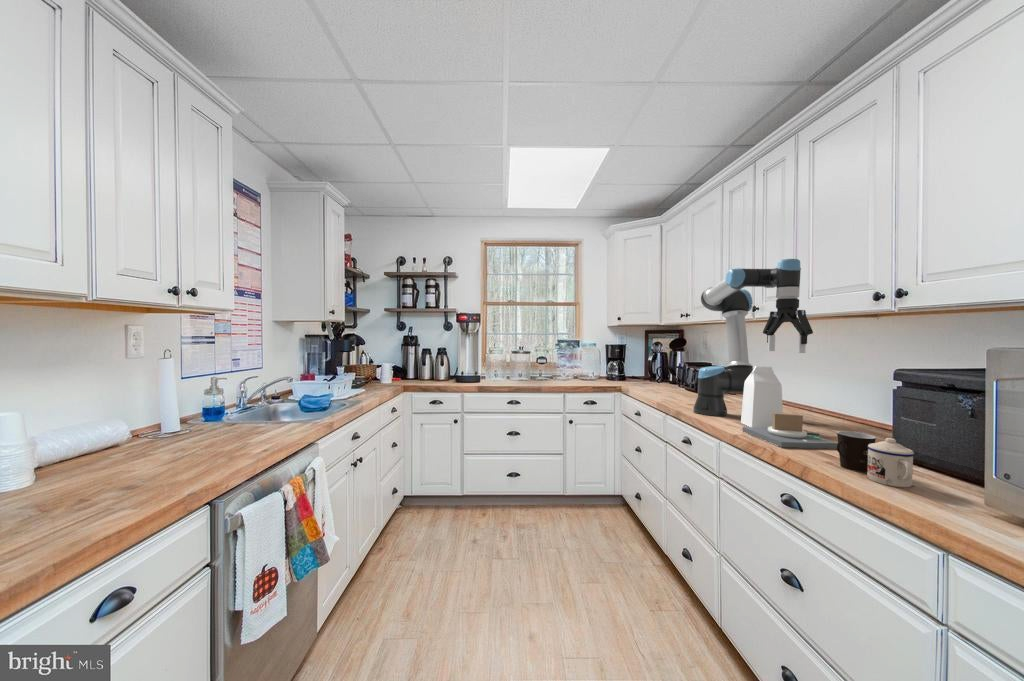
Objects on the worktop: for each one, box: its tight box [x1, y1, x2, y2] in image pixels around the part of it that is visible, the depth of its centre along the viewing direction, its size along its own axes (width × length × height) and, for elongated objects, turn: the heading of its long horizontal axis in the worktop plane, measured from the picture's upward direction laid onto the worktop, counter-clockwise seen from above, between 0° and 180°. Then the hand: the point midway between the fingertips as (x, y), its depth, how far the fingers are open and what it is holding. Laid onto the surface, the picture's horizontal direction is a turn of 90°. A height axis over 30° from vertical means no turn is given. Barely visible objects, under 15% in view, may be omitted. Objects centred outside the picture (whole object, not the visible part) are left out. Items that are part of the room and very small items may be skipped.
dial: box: [768, 412, 820, 438], centre depth 145 cm, size 16×12×8 cm
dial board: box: [742, 426, 838, 449], centre depth 146 cm, size 22×20×2 cm
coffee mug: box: [836, 430, 877, 473], centre depth 115 cm, size 12×9×10 cm
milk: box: [740, 365, 784, 427], centre depth 168 cm, size 12×12×26 cm
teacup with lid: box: [866, 437, 915, 488], centre depth 103 cm, size 12×9×12 cm
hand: (785, 352), depth 155 cm, fingers open, 13 cm apart
